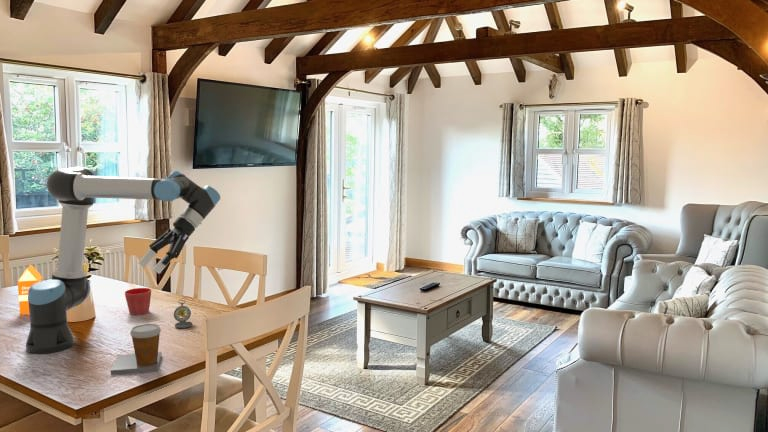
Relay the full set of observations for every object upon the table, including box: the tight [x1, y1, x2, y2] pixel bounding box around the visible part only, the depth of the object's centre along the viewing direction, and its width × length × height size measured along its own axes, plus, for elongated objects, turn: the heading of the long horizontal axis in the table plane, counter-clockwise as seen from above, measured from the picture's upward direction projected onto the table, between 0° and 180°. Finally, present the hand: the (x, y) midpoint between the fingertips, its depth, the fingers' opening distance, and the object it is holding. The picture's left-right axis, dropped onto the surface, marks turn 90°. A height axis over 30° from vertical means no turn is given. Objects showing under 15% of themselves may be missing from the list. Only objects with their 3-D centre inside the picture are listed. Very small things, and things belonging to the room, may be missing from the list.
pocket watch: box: [173, 299, 193, 329], centre depth 244 cm, size 8×8×10 cm
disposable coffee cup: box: [129, 323, 162, 366], centre depth 200 cm, size 10×10×12 cm
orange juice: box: [17, 264, 43, 315], centre depth 261 cm, size 8×9×20 cm
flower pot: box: [124, 287, 152, 316], centre depth 261 cm, size 11×11×10 cm
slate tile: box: [110, 351, 162, 376], centre depth 202 cm, size 14×14×2 cm
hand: (148, 268), depth 213 cm, fingers open, 13 cm apart
